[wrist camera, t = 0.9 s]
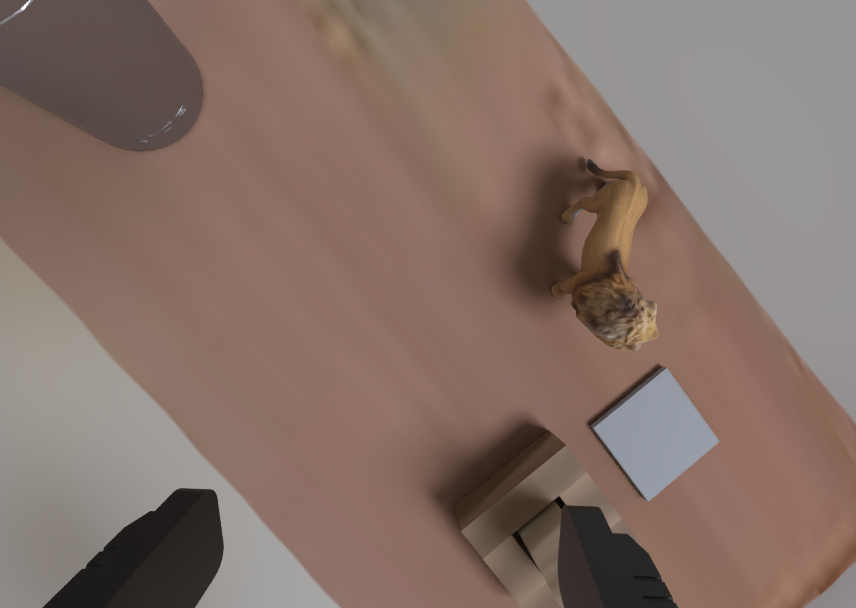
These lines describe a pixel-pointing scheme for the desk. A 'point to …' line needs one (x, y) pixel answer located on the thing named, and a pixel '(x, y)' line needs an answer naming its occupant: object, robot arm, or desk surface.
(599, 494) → the socket block
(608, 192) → the lion figurine
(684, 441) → the slate mat
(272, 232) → the desk surface
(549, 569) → the birch peg
